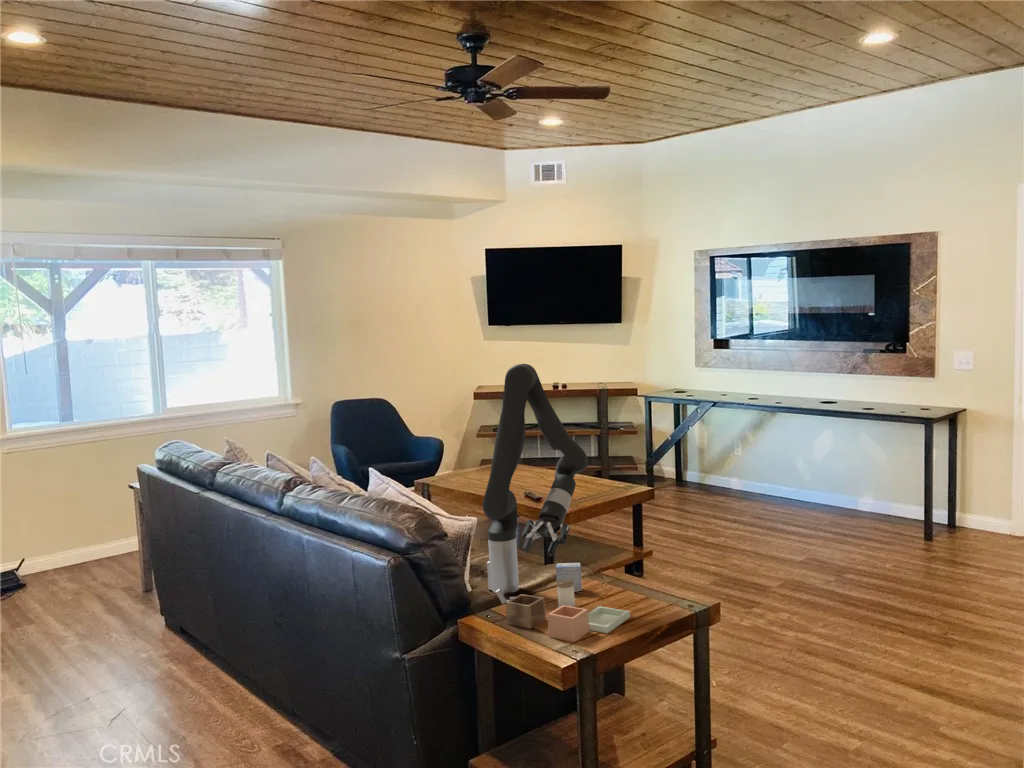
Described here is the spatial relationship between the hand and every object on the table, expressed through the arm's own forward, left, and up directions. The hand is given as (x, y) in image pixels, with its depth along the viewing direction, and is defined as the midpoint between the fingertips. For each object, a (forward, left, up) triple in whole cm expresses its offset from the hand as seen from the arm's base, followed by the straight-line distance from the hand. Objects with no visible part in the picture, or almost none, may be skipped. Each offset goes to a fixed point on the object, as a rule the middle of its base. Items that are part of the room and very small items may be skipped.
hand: (537, 553), depth 225 cm
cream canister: (+7, +3, -19) cm, 20 cm away
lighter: (-9, -4, -19) cm, 21 cm away
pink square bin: (+16, -11, -19) cm, 27 cm away
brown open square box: (0, -8, -19) cm, 20 cm away
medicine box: (-4, +23, -19) cm, 30 cm away
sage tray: (+20, +1, -19) cm, 27 cm away
